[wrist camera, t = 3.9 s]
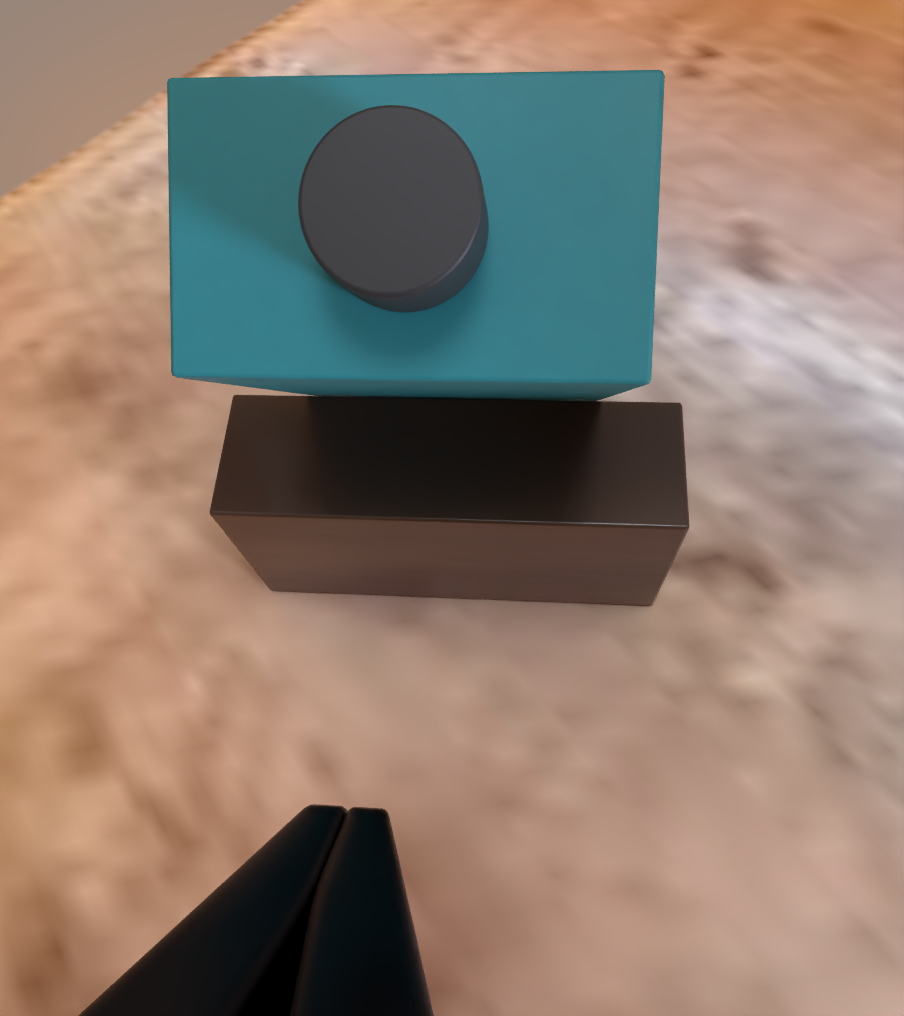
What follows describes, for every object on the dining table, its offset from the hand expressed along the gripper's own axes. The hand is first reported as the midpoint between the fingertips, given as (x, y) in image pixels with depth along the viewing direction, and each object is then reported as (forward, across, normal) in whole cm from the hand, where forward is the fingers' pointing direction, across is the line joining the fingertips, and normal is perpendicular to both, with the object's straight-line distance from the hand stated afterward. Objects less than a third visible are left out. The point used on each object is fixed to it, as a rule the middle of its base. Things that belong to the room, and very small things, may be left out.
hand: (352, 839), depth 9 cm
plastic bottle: (+16, 0, 0) cm, 16 cm away
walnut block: (+14, 0, +2) cm, 14 cm away
